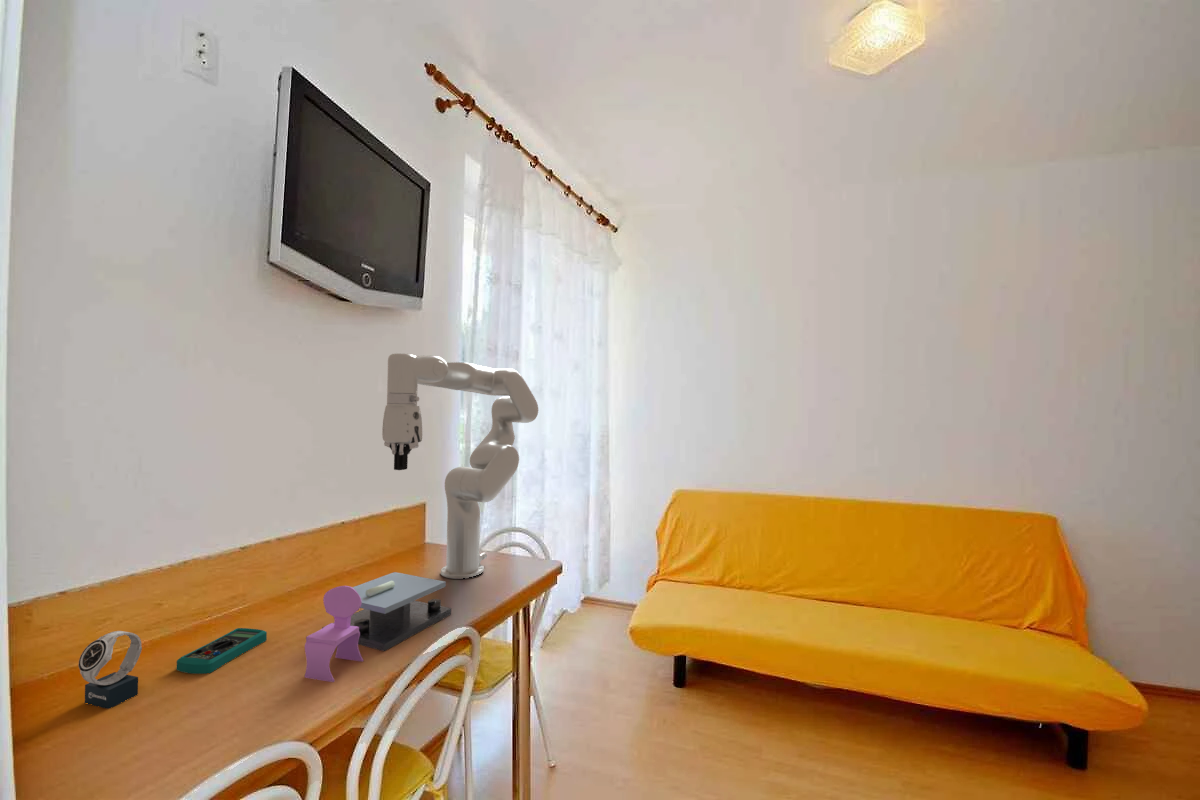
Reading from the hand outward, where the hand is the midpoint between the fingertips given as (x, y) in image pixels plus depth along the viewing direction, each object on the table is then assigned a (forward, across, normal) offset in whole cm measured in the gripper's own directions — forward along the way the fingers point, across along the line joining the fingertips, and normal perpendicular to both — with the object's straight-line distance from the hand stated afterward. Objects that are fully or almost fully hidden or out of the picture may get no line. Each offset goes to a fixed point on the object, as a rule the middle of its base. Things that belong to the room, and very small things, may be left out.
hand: (400, 469), depth 140 cm
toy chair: (+33, -18, +35) cm, 52 cm away
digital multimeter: (+34, +6, +40) cm, 53 cm away
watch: (+33, +7, +58) cm, 67 cm away
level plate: (+26, -12, +15) cm, 32 cm away
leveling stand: (+33, -12, +15) cm, 38 cm away
